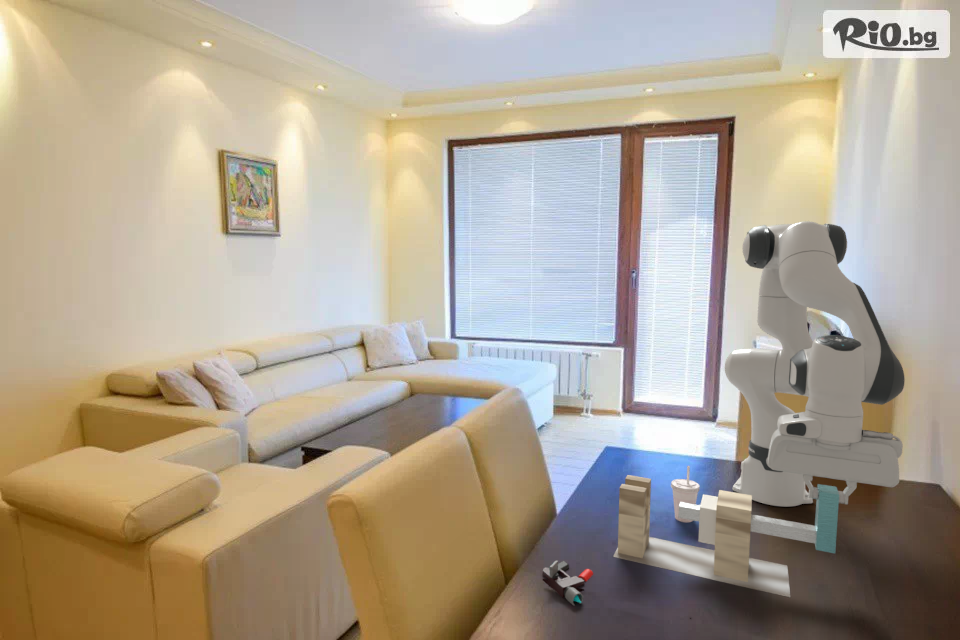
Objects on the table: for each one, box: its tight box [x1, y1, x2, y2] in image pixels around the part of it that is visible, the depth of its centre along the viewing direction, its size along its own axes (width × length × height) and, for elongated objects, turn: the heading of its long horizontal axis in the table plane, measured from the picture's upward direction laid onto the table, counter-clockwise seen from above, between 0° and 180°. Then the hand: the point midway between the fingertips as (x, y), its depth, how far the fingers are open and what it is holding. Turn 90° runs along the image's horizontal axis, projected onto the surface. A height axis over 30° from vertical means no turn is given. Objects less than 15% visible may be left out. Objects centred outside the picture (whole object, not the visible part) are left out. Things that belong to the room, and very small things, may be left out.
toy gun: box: [542, 560, 594, 606], centre depth 107 cm, size 10×12×5 cm
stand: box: [613, 474, 791, 598], centre depth 113 cm, size 12×32×15 cm, turn 64°
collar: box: [697, 494, 718, 546], centre depth 112 cm, size 7×3×7 cm, turn 154°
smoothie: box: [670, 465, 701, 523], centre depth 133 cm, size 6×6×14 cm
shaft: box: [678, 483, 840, 554], centre depth 109 cm, size 4×27×11 cm, turn 64°
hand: (827, 500), depth 103 cm, fingers open, 3 cm apart
